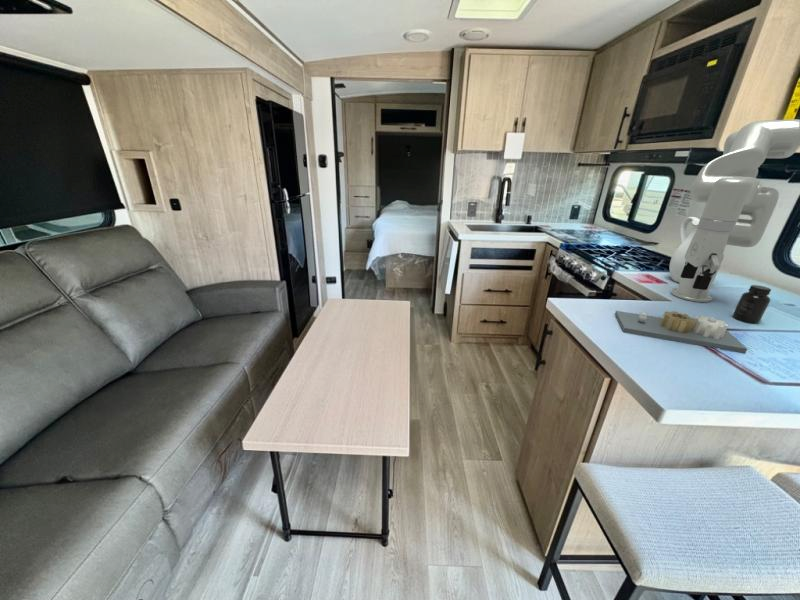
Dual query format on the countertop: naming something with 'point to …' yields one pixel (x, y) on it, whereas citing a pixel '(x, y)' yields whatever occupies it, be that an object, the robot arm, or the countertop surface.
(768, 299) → the supplement bottle
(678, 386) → the countertop surface
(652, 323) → the gear board
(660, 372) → the countertop surface
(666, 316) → the brass gear
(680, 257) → the pitcher
